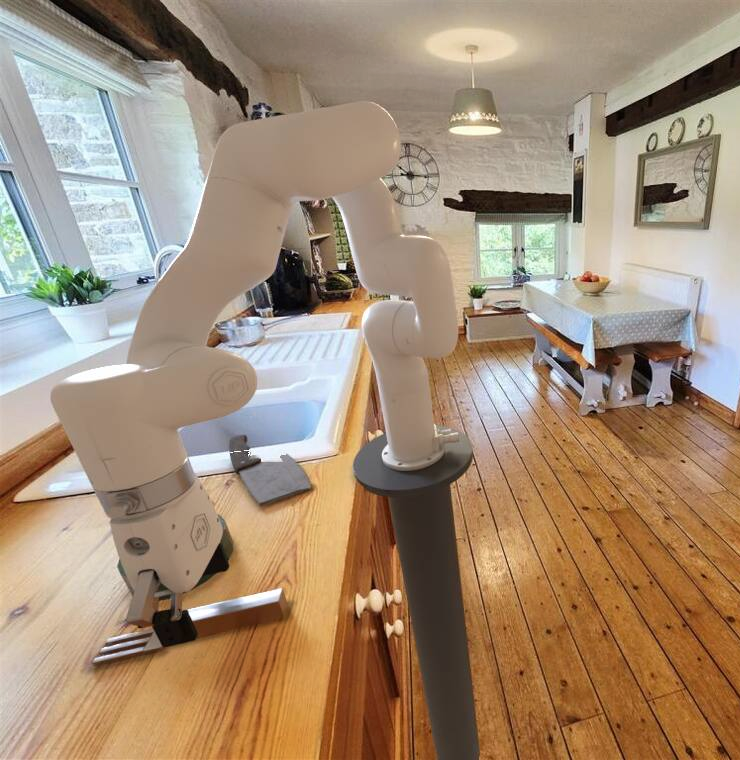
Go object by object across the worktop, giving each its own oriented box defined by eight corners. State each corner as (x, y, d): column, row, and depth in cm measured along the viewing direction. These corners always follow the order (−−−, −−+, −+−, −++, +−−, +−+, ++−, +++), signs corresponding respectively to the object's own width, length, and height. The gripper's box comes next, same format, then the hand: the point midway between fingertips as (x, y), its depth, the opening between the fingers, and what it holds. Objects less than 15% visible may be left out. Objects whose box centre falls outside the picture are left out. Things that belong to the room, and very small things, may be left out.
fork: (289, 600, 54) (283, 584, 53) (283, 622, 51) (277, 605, 50) (111, 642, 50) (100, 625, 48) (94, 668, 47) (82, 651, 46)
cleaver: (219, 449, 90) (216, 441, 89) (267, 432, 96) (265, 424, 95) (261, 513, 71) (257, 503, 70) (317, 486, 77) (315, 477, 76)
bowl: (245, 529, 67) (236, 505, 65) (217, 592, 56) (205, 564, 54) (159, 546, 64) (147, 521, 62) (112, 615, 53) (95, 587, 51)
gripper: (146, 534, 35) (206, 666, 42) (220, 438, 51) (256, 544, 57) (39, 553, 34) (119, 687, 40) (150, 447, 49) (195, 556, 56)
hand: (200, 603), depth 49 cm, fingers open, 9 cm apart
